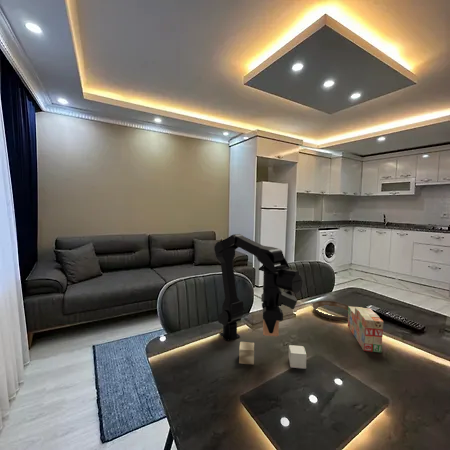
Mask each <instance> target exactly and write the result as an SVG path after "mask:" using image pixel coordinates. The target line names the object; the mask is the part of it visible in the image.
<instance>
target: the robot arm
mask: <svg viewBox="0 0 450 450" xmlns="http://www.w3.org/2000/svg"><path fill="white" fill-rule="evenodd" d="M239 248H240V249H242V250H243V251H244V252H247V253H249V254H251V255H253V256H254V257H256V259H257V261H258V262H259V263H260V264H262V265H261V266H259V267H258V271H261V272H263V274H262V275H263V279H262V280H263V283H262V293H261V294H260V295H261V296H260V297H261V299H260V302H262V303H261V308H262V320H263V319H264V320H265V323H266V325H267V328H268V331H269V333H273V330H274V327H275V323H276V321H279V322H282V321H283V320H284V313H283V310H282V308H280V307H282V305H283V306H284V307H288V308H289V309H291V310H295V307H296V305H297V303H298V299H297V298H296V296H295V295H294V294H297V293H299V292H300V291H301V289H302V287H303V279H302V276H301V275H300V270H296V269H291V267H290V265H289V263H288V262H287V261H288V260H287V259H286V257H285V255H284V251H283V250H282V249H281V248H278V247H275V246H274V247H273V246H268V245H262V244H261V243H258V242H257V241H254V240H252V239H251V238H248V237H246V236H244V235H243V234H242V233H241V234H240V233H237V234H236V233H235V234H232V235H230V236H229V237H227V238H225V239H223V240H220V241H217V242H216V243H215V245H214V254H215V257H216V259H217V261H219V263H220V267H221V268H220V269H221V275H222V276H221V277H222V283H223V284H222V285H223V292H224V300H223V303H222V307H221V308H222V311H221V313H220V314H219V315H218V316H217V320H218V321H217V322H218V323H219V324H221V325H222V332H219V334H218V335H219V336H220V337H221V338H222V339H224V340H225V341H226V342H227V341H232V340H235V339H239V338H241V336H240V335H239V334H238V322H240V321H241V320H242V318H243V316H244V313H245V307H244V301H242V300H240V299H239V297H238V294H237V286H236V285H237V284H236V277H235V270H234V259H235V257H236V251H237V249H239ZM282 290H284V291H282ZM293 293H294V294H293Z"/></svg>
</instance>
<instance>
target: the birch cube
mask: <svg viewBox="0 0 450 450" xmlns="http://www.w3.org/2000/svg"><path fill="white" fill-rule="evenodd" d="M238 354H239V355H238V358H239V359H238V364H244V365H253V366H254V364H255V342H249V341H248V342H246V341H240V342H239V350H238Z"/></svg>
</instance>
